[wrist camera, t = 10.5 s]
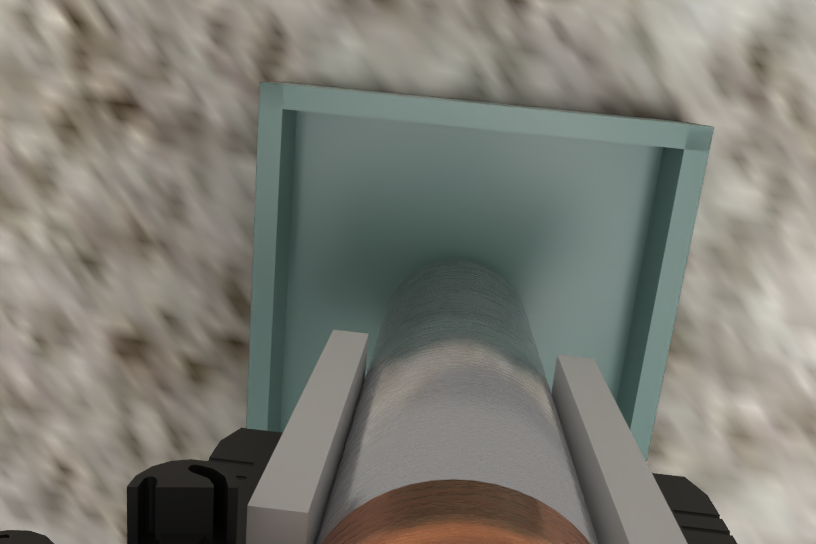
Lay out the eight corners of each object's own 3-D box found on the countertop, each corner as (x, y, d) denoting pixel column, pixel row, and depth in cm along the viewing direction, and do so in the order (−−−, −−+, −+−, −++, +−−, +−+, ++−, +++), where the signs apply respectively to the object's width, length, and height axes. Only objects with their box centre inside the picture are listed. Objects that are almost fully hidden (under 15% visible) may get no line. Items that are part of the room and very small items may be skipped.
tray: (264, 466, 23) (243, 510, 21) (283, 82, 20) (259, 81, 18) (608, 507, 23) (626, 556, 21) (682, 121, 20) (713, 126, 17)
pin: (377, 389, 20) (253, 883, 8) (389, 253, 19) (268, 569, 7) (517, 405, 20) (623, 933, 8) (537, 269, 19) (697, 620, 7)
